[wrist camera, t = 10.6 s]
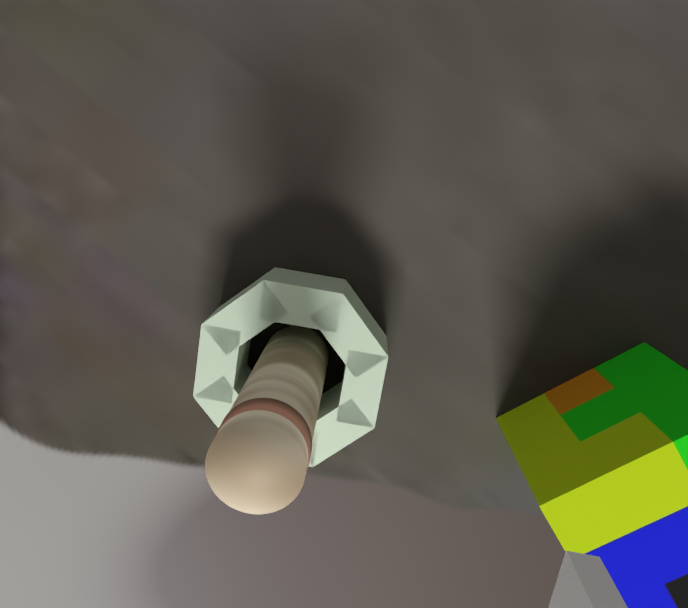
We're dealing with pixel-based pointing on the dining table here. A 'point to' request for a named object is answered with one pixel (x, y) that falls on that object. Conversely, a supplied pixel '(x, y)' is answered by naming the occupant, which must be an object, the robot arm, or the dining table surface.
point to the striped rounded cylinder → (270, 425)
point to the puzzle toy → (615, 470)
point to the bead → (306, 311)
